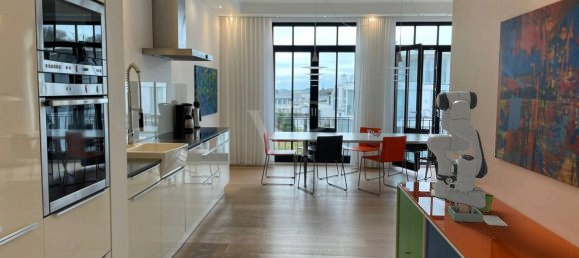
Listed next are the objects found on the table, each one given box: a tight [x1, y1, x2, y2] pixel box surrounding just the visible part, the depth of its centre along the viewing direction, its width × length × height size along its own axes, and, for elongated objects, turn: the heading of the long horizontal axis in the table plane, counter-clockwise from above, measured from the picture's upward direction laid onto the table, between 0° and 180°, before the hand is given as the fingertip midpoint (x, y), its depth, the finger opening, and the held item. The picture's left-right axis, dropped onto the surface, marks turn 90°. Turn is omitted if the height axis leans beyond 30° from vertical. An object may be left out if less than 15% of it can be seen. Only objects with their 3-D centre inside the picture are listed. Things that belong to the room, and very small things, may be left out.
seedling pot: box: [458, 203, 472, 213], centre depth 219 cm, size 6×6×8 cm
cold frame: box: [447, 205, 484, 223], centre depth 220 cm, size 14×14×4 cm
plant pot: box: [477, 193, 495, 213], centre depth 232 cm, size 9×9×9 cm
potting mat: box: [483, 214, 509, 227], centre depth 215 cm, size 16×9×1 cm, turn 171°
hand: (464, 212), depth 220 cm, fingers closed on seedling pot, 6 cm apart
